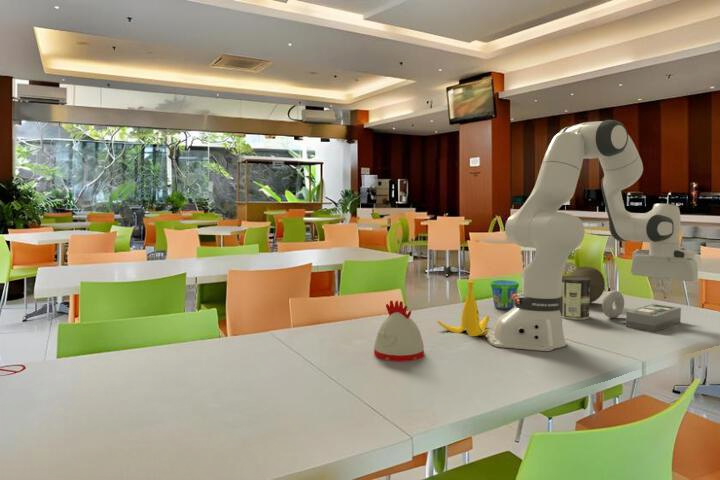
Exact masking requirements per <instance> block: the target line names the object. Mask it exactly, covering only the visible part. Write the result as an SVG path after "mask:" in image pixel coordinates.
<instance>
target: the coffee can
mask: <svg viewBox="0 0 720 480" xmlns="http://www.w3.org/2000/svg"><path fill="white" fill-rule="evenodd" d="M589 295H590V278H587V277H580V276H570V275H564V276H563V275H562V289H561V296H562V297H563V313H562V319H567V320H573V321H575V320H576V321H578V320H580V321H581V320H582V321H584V320H588V319H590V303H589Z"/></svg>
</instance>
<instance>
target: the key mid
mask: <svg viewBox="0 0 720 480" xmlns="http://www.w3.org/2000/svg"><path fill="white" fill-rule="evenodd" d="M645 309H649V310H655V312H663V308H661V307H654V306H649V307H646V308H645Z"/></svg>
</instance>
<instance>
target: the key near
mask: <svg viewBox="0 0 720 480" xmlns="http://www.w3.org/2000/svg"><path fill="white" fill-rule="evenodd" d="M637 313H642V314H648V315H654V314H655V310H649V309H639V310H637Z"/></svg>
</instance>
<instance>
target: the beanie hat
mask: <svg viewBox="0 0 720 480" xmlns="http://www.w3.org/2000/svg"><path fill="white" fill-rule="evenodd" d="M385 307H386V310H387V312H388V316H386V317H385V319H384V320H383V322H382V323H381V325H380V326H379V329H378V332H377V334H376V338H375V341H374V348H373V349H374V350H373V351H374V352H373V353H374V356H375V357H377V359H378V358H379V359H380V360H384V361H390V362H409V361H417V360H419V359H421V358H423V357H424V356H425V355H424V354H425V348H424V341H423V337H422V334H421V331H420V329H419V327H418V325H417V323H416V322H415V321H414V319H413V318H412V317H411V315H412V310H409V311H408V312H407V310H408V305H405V306H404V303H403V301H402V300H401V301H398V300H395V302H393V300H389V304H388V303H386V304H385Z"/></svg>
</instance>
